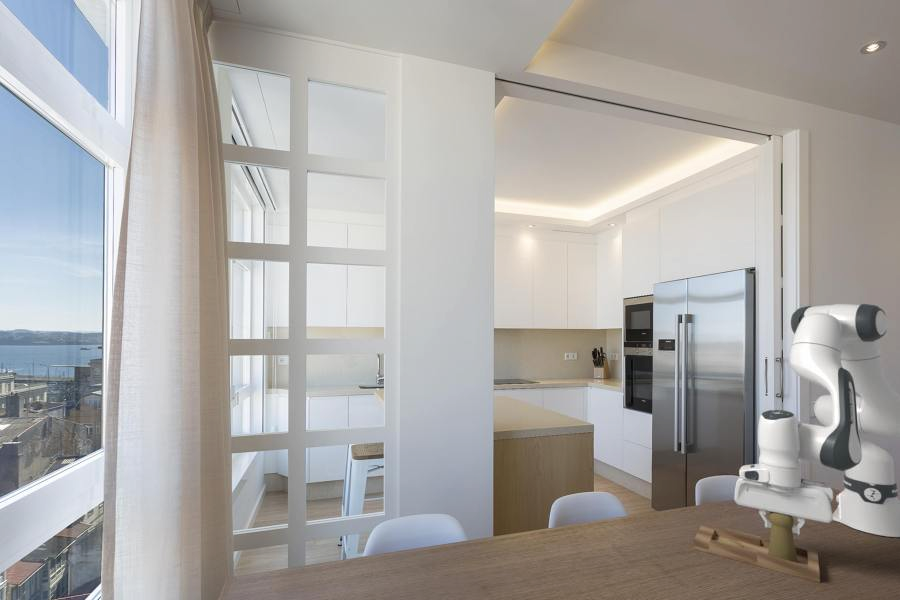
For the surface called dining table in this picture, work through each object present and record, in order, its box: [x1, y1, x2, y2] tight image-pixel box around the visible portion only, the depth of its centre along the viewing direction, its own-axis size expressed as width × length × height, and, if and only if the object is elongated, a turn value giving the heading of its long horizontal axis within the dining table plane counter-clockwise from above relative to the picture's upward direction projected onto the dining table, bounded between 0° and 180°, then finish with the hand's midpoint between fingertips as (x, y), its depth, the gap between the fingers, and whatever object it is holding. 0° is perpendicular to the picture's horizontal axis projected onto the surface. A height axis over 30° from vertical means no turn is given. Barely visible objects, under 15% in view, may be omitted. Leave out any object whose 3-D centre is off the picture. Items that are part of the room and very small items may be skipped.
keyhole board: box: [693, 522, 821, 583], centre depth 118 cm, size 14×26×2 cm, turn 53°
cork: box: [768, 511, 798, 562], centre depth 114 cm, size 6×6×11 cm
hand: (782, 530), depth 115 cm, fingers closed on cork, 4 cm apart
